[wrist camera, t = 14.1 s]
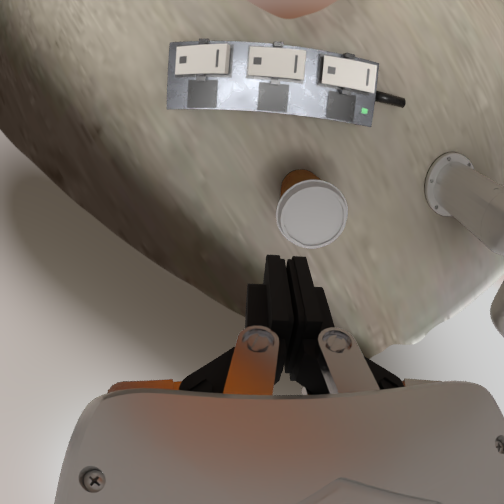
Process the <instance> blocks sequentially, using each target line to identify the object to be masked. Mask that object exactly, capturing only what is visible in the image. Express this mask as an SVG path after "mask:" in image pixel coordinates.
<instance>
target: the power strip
mask: <svg viewBox="0 0 504 504" xmlns="http://www.w3.org/2000/svg"><path fill="white" fill-rule="evenodd" d="M201 43H204V44H229V45H230V57H229V71H228V74H204V75H197V74H185V75H175V65H176V49H177V47H180V46H191V45H199V44H201ZM283 44H284V42H274V43H273V44H270V43H257V42H239V41H210V40H209V39H199V41H190V42H172V43H170V48H169V63H168V83H167V109H224V110H245V111H260V112H272V113H283V114H292V115H301V116H308V117H316V118H323V119H329V120H335V121H341V122H347V123H353V124H358V125H363V126H368V127H371V125H372V118H373V111H374V104H375V101H379V102H383V103H387V104H391V105H394V106H398V107H402V108H403V107H404V106H405V99H404V98H401V97H397V96H394V95H390V94H386V93H383V92H379V91H376V88H377V79H378V69H379V63H376V62H372V61H369V60H365V59H361V58H356V57H355V55H354V54H349V53H345V54H338V53H333V52H328V51H322V50H317V49H310V48H304V47H297V46H289V45H283ZM250 47H272V48H275V47H282V48H285V49H296V50H305V51H306V63H305V74H304V80H297V79H288V78H279V79H274V78H272V77H266V76H250V75H248V66H249V54H250ZM324 55H326V56H332V57H338V58H344V59H347V58H350V59H354V61H359V62H364V63H369V64H373V65H377V72H376V82H375V91H374V93H369V92H365V91H360V90H355V89H351V90H348V89H344V87H339V86H334V85H328V84H322V75H323V64H324Z"/></svg>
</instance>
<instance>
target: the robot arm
mask: <svg viewBox="0 0 504 504" xmlns="http://www.w3.org/2000/svg"><path fill="white" fill-rule="evenodd" d="M425 195H426V199H427V202H428V204H429V206H430V207H431V208H432V209H433V210H434V211H435V212H436V213H438V214H439V215H442V216H453V217H454V218H456V219H457V220H458V221H459V222H460V223H461V224H463V225H464V226H465V227H466V228H467V229H468V230H469V231H470V232H472V233H473V234H474V235H475V236H476V237H477V238H478V239H479V240H480V241H481V242H483V243H484V244H485V245H486V246H487V247H488V248H489V249H490V250H491V251H493V252H494V253H496V254H499V255H504V187H503V186H501V185H500V184H498V183H496V182H495V181H493V180H491V179H489V178H488V177H486V176H484V175H482V174H481V173H479V172H477V171H475V170H474V167H473V165H472V163H471V162H470V160H469V159H468V158H467V157H465V156H464V155H462V154H459V153H456V152H450V153H446V154H444V155H442V156H440V157H439V158H438V159H437V160H436V161H435V162H434V163H433V164H432V166H431V167H430V169H429V172H428V174H427V177H426V182H425ZM490 315H491V319H492V322H493V324H494V326H495V327H496V329H497V330H498V331H499V333H500V334H501V335H502V336H503V337H504V281H503V283H502V285H501V287H500V288H499V290H498V292H497V294H496V296H495V298H494V300H493V302H492V305H491V309H490ZM284 366H285V373H290V380H291V381H297V382H298V383H299V384H301V385H302V386H301V392H302V395H273V388H274V385H275V384H276V383H277V382H278V381H279V380H280V376H281V373H282V371H283V367H284ZM102 472H103V473H102ZM54 504H504V417H503V415H502V413H501V411H500V409H499V407H498V405H497V403H496V401H495V400H494V398H493V396H492V395H491V394H490V392H488V391H487V389H486V388H484V387H482V386H481V385H478V384H475V383H471V382H466V381H465V382H464V381H444V382H442V381H430V380H417V379H404V380H403V381H401V380H400V379H399V378H398V377H397V376H396V375H394V374H392V373H391V372H389V371H387V370H386V369H384V368H382V367H381V366H379V365H377V364H376V363H374V362H373V361H371V360H369V359H368V358H366V357H365V356H363V354H362V352H361V350H360V348H359V346H358V344H357V342H356V341H355V339H354V337H353V336H352V335H351V334H350V333H349V332H348V331H346V330H344V329H341V328H337V327H334V323H333V320H332V316H331V313H330V310H329V306H328V303H327V299H326V296H325V293H324V290H323V288H322V287H314V285H313V281H312V277H311V274H310V270H309V266H308V263H307V259H306V257H297V256H293V257H292V259H288V260H287V266H286V265H285V260H284V259H280V256H279V255H267V256H266V264H265V273H264V282H263V284H248V287H247V300H246V323H245V329H243V330H242V331H241V332H240V333H239V335H238V338H237V342H236V345H235V347H233V348H232V349H230V350H229V351H227V352H226V353H224V354H222V355H221V356H219V357H218V358H216V359H214V360H213V361H212V362H210V363H208V364H207V365H205V366H203V367H202V368H200V369H199V370H197V371H195V372H194V373H192V374H191V375H189V376H187V377H186V378H185V379H184V380H183V381H177V382H173V379H169V380H150V381H123V382H118V383H116V384H114V385H112V386H111V388H110V389H109V390H108V393H107V394H104V395H101V396H99V397H97V398H95V399H94V400H92V401H91V402H90V403H89V404H88V405H87V406H86V408H85V409H84V411H83V412H82V414H81V416H80V417H79V420H78V422H77V424H76V426H75V429H74V431H73V434H72V436H71V439H70V441H69V445H68V448H67V451H66V455H65V458H64V461H63V465H62V469H61V473H60V477H59V482H58V487H57V492H56V497H55V503H54Z"/></svg>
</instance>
